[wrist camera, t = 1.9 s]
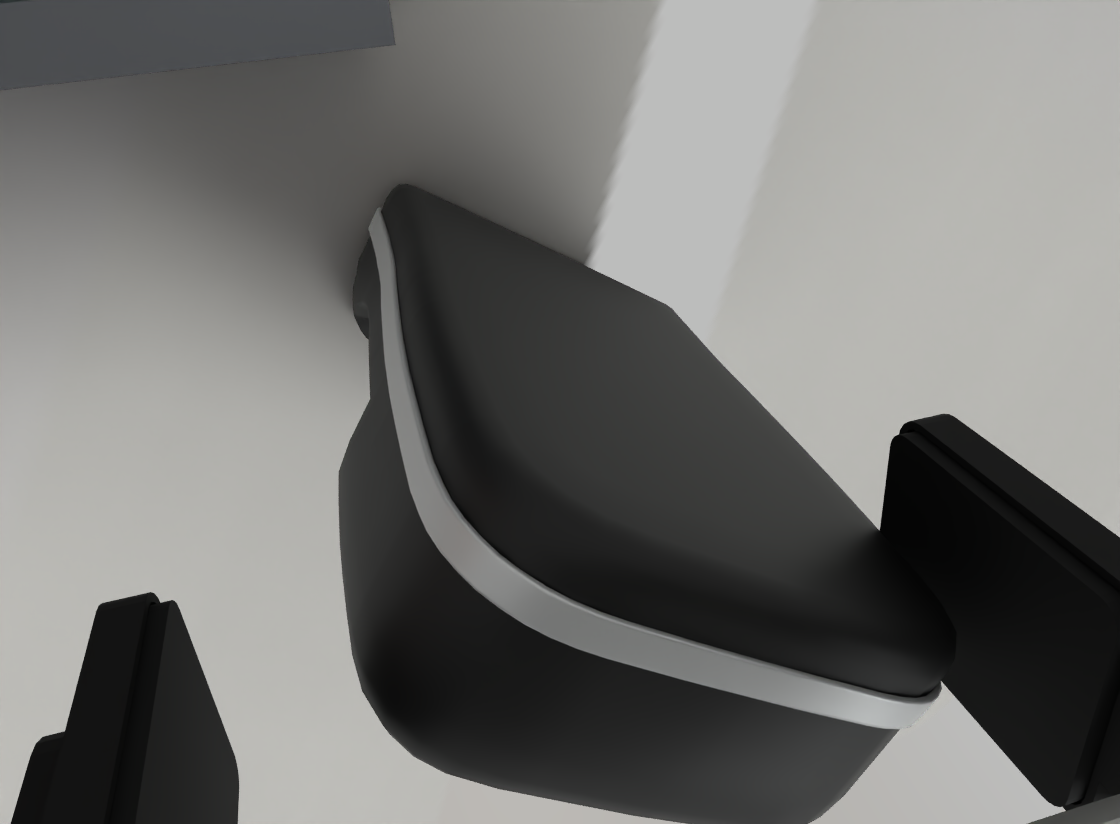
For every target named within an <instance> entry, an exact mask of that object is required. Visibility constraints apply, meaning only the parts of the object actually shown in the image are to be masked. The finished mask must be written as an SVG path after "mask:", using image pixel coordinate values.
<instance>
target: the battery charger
mask: <svg viewBox="0 0 1120 824" xmlns="http://www.w3.org/2000/svg"><path fill="white" fill-rule="evenodd" d="M368 230H369V232H370V237H369V239H368V241H367V243H366V245H365V248H364V250H363V252H362V254H361V256H360V258H359V261H358V267H357V273H356V277H355V282H354V286H353V310H354V316H355V319H356V321H357V323H358V325H359V327H360V329H361V331H362V332H363V334H364V335H365V336H366V338H367V339H369V377H370V400H369V403H368V405H367V407H366V409H365V411H364V413H363V415H362V417H361V419H360V421H359V423H358V425H357V427H356V429H355V431H354V433H353V435H352V437H351V439H350V441H349V444H348V447H347V450H346V453H345V456H344V458H343V461H342V464H341V467H340V470H339V529H340V550H341V562H342V574H343V584H344V593H345V602H346V611H347V619H348V626H349V634H350V641H351V649H352V655H353V659H354V663H355V666H356V670H357V674H358V677H359V681H360V684H361V688H362V692H363V693H364V695H365V697H366V698H367V700H368V701H369V703H370V705H371V706H372V708H373V710H374V711H375V713H376V715H377V716H378V718H379V720H380V721H381V723H382V725H383V726H384V727H385V729H386V730H387V731H388V733H389V734H390V735H391V736H392V737H393V738H394V739H396V740H397V741H398V742H399V743H400V744H401V745H402V746H403V747H404V748H405V749H406V750H407V751H408V752H410V753H411V754H412V755H413V756H414V757H416V758H417V759H419V760H421V761H423V762H425V763H427V764H429V765H431V766H433V767H435V768H436V769H438V770H440V771H442V772H444V773H446V774H450V775H453V776H456V777H460V778H463V779H467V780H470V781H474V782H477V783H480V784H484V785H487V786H491V787H494V788H497V789H502V790H507V791H512V792H518V793H522V794H527V795H532V796H537V797H542V798H547V799H552V800H558V801H563V802H568V803H572V804H578V805H583V806H588V807H593V808H598V809H604V810H608V811H613V812H618V813H623V814H628V815H633V816H640V817H646V818H653V819H660V820H666V821H673V822H680V823H687V824H808V823H810V822H812V821H814V820H815V819H817V818H819V817H821V816H822V815H823V814H824V813H825V812H826V811H827V810H829V809H830V807H832V806H833V805H834V804H835V803H836V802H837V801H839V800H840V799H841V798H842V797H843V796H844V795H845V794H846V793H847V792H848V790H849V789H850V788H851V787H852V786H853V784H854V783H855V782H856V781H857V780H858V778H859V777H860V776H861V775H862V774H863V772H864V771H865V770H866V769H867V768H868V767H869V765H870V764H871V763H872V762H873V761H874V759H875V758H876V757H877V756H878V754H879V753H880V752H881V751H882V750H883V749H884V747H885V746H886V745H887V744H888V743H889V741H890V740H891V739H892V738H893V737H894V736H895V734H896V733H897V732H898V731H899V730H900V729H903V728H907V727H911V726H912V725H914V724H915V723H916V722H917V721H918V720H919V719H920V718H921V717H922V716H923V715H924V713H925V712H926V711H927V710H928V709H929V707H930V706H931V705H932V704H933V703H934V701H935V700H936V699H937V698H938V696H939V694H940V692H941V689H942V687H941V680H942V678H943V677H944V676H945V675H946V673H947V672H948V670H949V668H950V667H951V665H952V663H953V662H954V659H955V651H956V635H957V633H956V630H955V628H954V626H953V624H952V622H951V620H950V618H949V616H948V614H947V613H946V611H945V609H944V607H943V606H942V604H941V602H940V600H939V599H938V598H937V597H936V595H935V594H934V593H933V592H932V591H931V589H930V588H929V587H928V586H927V584H926V583H925V582H924V581H923V579H922V578H921V577H920V576H919V575H918V573H917V572H916V571H915V570H914V569H913V568H912V567H911V566H910V564H909V563H908V562H907V561H906V560H905V559H904V558H903V557H902V555H901V554H900V553H899V552H898V551H897V550H896V549H895V548H894V547H893V545H892V544H891V543H890V542H889V541H888V540H887V539H886V538H885V536H884V535H883V534H882V533H881V532H880V531H879V530H878V529H877V528H876V527H875V525H874V524H873V523H872V522H871V521H870V520H869V519H868V518H867V517H866V515H865V514H864V513H863V512H862V511H861V510H860V509H859V508H858V507H857V506H856V504H855V503H854V502H853V501H852V500H851V499H850V498H849V497H848V496H847V495H846V493H845V492H844V491H843V490H842V489H841V488H840V487H839V486H838V485H837V484H836V483H835V482H834V481H833V479H832V478H831V477H830V476H829V475H828V474H827V473H826V472H825V471H824V470H823V469H822V468H821V467H820V466H819V464H818V463H817V462H816V461H815V460H814V459H813V458H812V457H811V456H810V455H809V454H808V453H807V452H806V451H805V450H804V449H803V447H802V446H801V445H800V444H799V443H798V442H797V441H796V440H795V439H794V438H793V437H792V436H791V435H790V434H789V433H788V432H787V431H786V430H785V429H784V428H783V427H782V426H781V424H780V423H779V422H778V421H777V420H776V419H775V418H774V417H773V416H772V415H771V414H770V413H769V412H768V411H767V410H766V409H765V408H764V407H763V406H762V405H761V404H760V403H759V402H758V401H757V400H756V399H755V398H754V396H753V395H752V394H751V393H750V392H749V391H748V390H747V389H746V388H745V387H744V386H743V385H742V384H741V383H740V382H739V381H738V380H737V379H736V378H735V377H734V376H733V375H732V374H731V373H730V372H729V371H728V370H727V369H726V368H725V367H724V366H723V365H722V364H721V363H720V361H719V360H718V359H717V358H716V357H715V356H714V355H713V354H712V353H711V352H710V351H709V350H708V348H707V347H706V346H705V345H704V344H703V343H702V342H701V341H700V340H699V338H698V337H697V336H696V335H695V334H694V333H693V332H692V331H691V330H690V328H689V327H688V326H687V325H686V324H685V323H684V322H683V321H682V319H680V317H679V316H678V315H677V314H676V313H675V312H674V310H673V309H672V308H670V307H669V306H667V305H666V304H664V303H662V302H660V301H657V300H656V299H653V298H651V297H649V296H647V295H645V294H643V293H641V292H639V291H637V290H635V289H632V288H630V287H628V286H626V285H624V284H622V283H620V282H618V281H616V280H614V279H612V278H610V277H607V276H605V275H603V274H601V273H599V272H597V271H595V270H593V269H591V268H588V267H586V266H584V265H582V264H580V263H578V262H576V261H574V260H572V259H569V258H567V257H565V256H563V255H561V254H559V253H557V252H555V251H553V250H550V249H548V248H546V247H544V246H542V245H540V244H538V243H535V242H533V241H531V240H529V239H527V238H525V237H523V236H520V235H518V234H516V233H514V232H512V231H510V230H508V229H506V228H503V227H501V226H499V225H497V224H495V223H493V222H491V221H488V220H486V219H484V218H482V217H480V216H478V215H476V214H473V213H471V212H469V211H467V210H465V209H463V208H460V207H458V206H456V205H454V204H452V203H450V202H447V201H445V200H443V199H441V198H439V197H437V196H434V195H432V194H430V193H428V192H426V191H424V190H421V189H419V188H417V187H414V186H411V185H408V184H402V185H398V186H397V187H395V188H394V189H393V190H392V191H391V193H390V194H389V196H388V197H387V200H386V202H385V204H384V206H383V208H379V207H378V208H377V210H376V212H375V215H374V217H373V219H372V221H371V223H370V225H369V228H368Z"/></svg>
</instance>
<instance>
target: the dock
mask: <svg viewBox="0 0 1120 824" xmlns="http://www.w3.org/2000/svg"><path fill="white" fill-rule="evenodd" d="M390 45H396V44H395V38H394V31H393V25H392V18H391V12H390V6H389V0H0V90H7V89H16V88H25V87H33V86H42V85H51V84H59V83H68V82H77V81H85V80H94V79H103V78H112V77H120V76H129V75H138V74H146V73H155V72H164V71H172V70H181V69H190V68H199V67H207V66H216V65H225V64H233V63H242V62H251V61H259V60H268V59H277V58H286V57H294V56H303V55H312V54H320V53H329V52H338V51H346V50H355V49H364V48H373V47H381V46H390Z"/></svg>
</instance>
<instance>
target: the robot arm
mask: <svg viewBox="0 0 1120 824" xmlns="http://www.w3.org/2000/svg"><path fill="white" fill-rule="evenodd" d="M880 532H881V533H882V534H883V535H884V536H885V538H886V539H887V540H888V541H889V542H890V543H891V544H892V545H893V547H894V548H895V549H896V550H897V551H898V552H899V553H900V554H901V555H902V557H903V558H904V559H905V560H906V561H907V562H908V563H909V564H910V566H911V567H912V568H913V569H914V570H915V571H916V572H917V573H918V575H919V576H920V577H921V578H922V579H923V581H924V582H925V583H926V584H927V586H928V587H929V588H930V589H931V591H932V592H933V593H934V594H935V595H936V597H937V598H938V599H939V600H940V602H941V604H942V606H943V607H944V609H945V611H946V613H947V614H948V616H949V618H950V620H951V622H952V624H953V626H954V628H955V630H956V633H957V635H956V651H955V659H954V662H953V663H952V665H951V667H950V668H949V670H948V672H947V673H946V675H945V676H944V677H943V678H942V680H941V681H942V682H943V683H944V685H945V686H946V687H947V688H948V689H949V690H950V691H951V693H952V694H953V695H954V696H955V697H956V698H957V699H958V700H959V701H960V703H961V704H962V705H963V706H964V707H965V708H966V710H967V711H968V712H969V713H970V714H971V715H972V716H973V718H974V719H975V720H976V721H977V722H978V723H979V724H980V726H981V727H982V728H983V729H984V730H985V731H986V732H987V734H988V735H989V736H990V737H991V738H992V739H993V740H994V742H995V743H996V744H997V745H998V746H999V747H1000V748H1001V750H1002V751H1003V752H1004V753H1005V754H1006V755H1007V756H1008V757H1009V759H1010V760H1011V761H1012V762H1013V763H1014V764H1015V766H1016V767H1017V768H1018V769H1019V770H1020V771H1021V772H1022V774H1023V775H1024V776H1025V777H1026V778H1027V779H1028V780H1029V782H1030V783H1031V784H1032V785H1033V786H1034V787H1035V788H1036V790H1037V791H1038V792H1039V793H1040V794H1041V795H1042V796H1043V797H1044V798H1045V799H1046V800H1047V801H1048V802H1049V803H1051V804H1053V805H1054V806H1058V807H1063V808H1064V809H1065V810H1066V811H1065V812H1062V813H1059V814H1056V815H1053V816H1049V817H1046V818H1043V819H1040V820H1037V821H1034V822H1031V823H1028V824H1120V537H1118V536H1117V535H1116V534H1114V533H1113V532H1111V531H1110V530H1109V529H1107V528H1106V527H1105V526H1103V525H1102V524H1100V523H1099V522H1098V521H1096V520H1095V519H1094V518H1092V517H1091V516H1090V515H1088V514H1087V513H1085V512H1084V511H1083V510H1081V509H1080V508H1079V507H1077V506H1076V505H1074V504H1073V503H1072V502H1070V501H1069V500H1068V499H1066V498H1065V497H1064V496H1062V495H1061V494H1059V493H1058V492H1057V491H1055V490H1054V489H1053V488H1051V487H1050V486H1048V485H1047V484H1046V483H1044V482H1043V481H1042V480H1040V479H1039V478H1038V477H1036V476H1035V475H1033V474H1032V473H1031V472H1029V471H1028V470H1027V469H1025V468H1024V467H1022V466H1021V465H1020V464H1018V463H1017V462H1016V461H1014V460H1013V459H1012V458H1010V457H1009V456H1007V455H1006V454H1005V453H1003V452H1002V451H1001V450H999V449H998V448H996V447H995V446H994V445H992V444H991V443H990V442H988V441H987V440H986V439H984V438H983V437H981V436H980V435H979V434H977V433H976V432H975V431H973V430H972V429H970V428H969V427H968V426H966V425H965V424H964V423H962V422H961V421H960V420H958V419H957V418H955V417H954V416H952V415H950V414H940V415H936V416H932V417H927V418H923V419H918V420H914V421H909V422H907V423H905V424H904V425H903V426H902V428H901V429H900V433H899V435H897V436H895V437H894V438H893V440H892V441H891V445H890V453H889V461H888V469H887V477H886V486H885V494H884V502H883V510H882V518H881V527H880ZM238 800H239V776H238V769H237V763H236V759H235V756H234V753H233V750H232V747H231V745H230V742H229V739H228V737H227V734H226V731H225V729H224V726H223V723H222V721H221V718H220V715H219V713H218V710H217V707H216V705H215V702H214V700H213V697H212V694H211V692H210V689H209V686H208V684H207V681H206V678H205V676H204V673H203V670H202V668H201V665H200V662H199V660H198V657H197V654H196V652H195V649H194V647H193V644H192V641H191V639H190V636H189V633H188V631H187V628H186V625H185V623H184V620H183V617H182V615H181V612H180V609H179V607H178V605H177V603H176V602H175V601H173V600H171V601H167V602H162V603H160V601H159V599H158V597H157V596H156V595H155V594H154V593H152V592H150V593H146V594H141V595H137V596H132V597H128V598H123V599H119V600H114V601H110V602H106V603H102V604H101V605H99V606H98V609H97V611H96V615H95V618H94V622H93V626H92V630H91V634H90V638H89V641H88V645H87V649H86V653H85V657H84V661H83V664H82V668H81V672H80V676H79V680H78V684H77V687H76V691H75V695H74V699H73V703H72V707H71V710H70V714H69V718H68V722H67V726H66V730H65V732H61V733H57V734H53V735H49V736H45V737H42V738H41V739H40V740H39V741H38V742H37V743H36V745H35V747H34V749H33V752H32V754H31V756H30V760H29V763H28V767H27V770H26V773H25V777H24V780H23V784H22V787H21V790H20V794H19V797H18V801H17V804H16V807H15V811H14V814H13V818H12V821H11V824H238Z"/></svg>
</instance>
